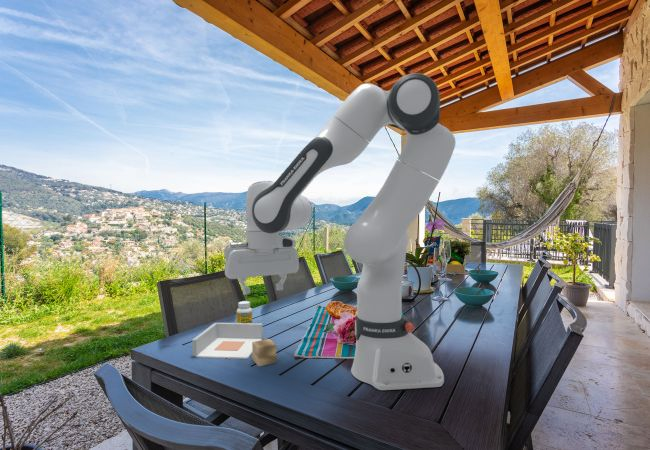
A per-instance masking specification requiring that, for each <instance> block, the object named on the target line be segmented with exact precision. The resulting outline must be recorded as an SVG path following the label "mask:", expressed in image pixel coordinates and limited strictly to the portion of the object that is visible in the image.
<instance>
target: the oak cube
mask: <svg viewBox="0 0 650 450" xmlns="http://www.w3.org/2000/svg"><path fill="white" fill-rule="evenodd" d="M251 356H252V361H253V362H254V363H255V364H256V365H257V367H262V366H265V365H270V364H275V363H277V344H276V343H275V342H274V341H273V340H271V339H270V338H266V339H262V340H261V341H256V342H252V354H251Z"/></svg>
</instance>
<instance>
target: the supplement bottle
mask: <svg viewBox="0 0 650 450" xmlns="http://www.w3.org/2000/svg"><path fill="white" fill-rule="evenodd" d="M237 303H238V304H237V306H238V307H237V309H236V323H253V309H252V307H251V302H250V301H247V300H242V301H239V302H237Z"/></svg>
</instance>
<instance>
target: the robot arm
mask: <svg viewBox="0 0 650 450" xmlns="http://www.w3.org/2000/svg"><path fill="white" fill-rule="evenodd" d="M440 94H441V93H440V90H439V88H438V85H437V84H436V82H435V80H433V79H432V78H431V77H430V76H428V75H426V74H424V73H419V72H414V73H408V74H406V75H404V76H402V77H400V78H399V79H398V80H396V81H395V83H394V84H393V85H392V86H391V88H390V90H389V91H388V90H384V89H382V88H381V87H379V86H378V85H376V84H372V83H362V84H360V85H359V86H358V87H356V88H355V89H354V90H353V91H351V93H350V94H349V95H348V96H347V97H346V99H345V100H343V102H342V103H341V104H340V105H339V106H338V108H337V109H336V111H334V113H333V115H332V116H331V118H329V120H328V122H327V123H326V124H324V125H325V126H324V127H323V128H322V129H321V130H320V131H319V132H318V134H316V135H315V136H314V138H313V139H312V140H310V142H308V144H307V145H305V147H303V148H302V149H301V151H299V153H298V154H297V156H295V158H294V159H293V160H292V161H291V162H290V164H289V165H288V166H287V167H286V168H285V170H284V171H283V172H282V173H281V174H280V175H279V177H278V178H277V179H276V180H275V181H272V180H264V181H257V182H254V183H252V184H251V185H249V186H248V188H247V191H246V197H245V217H246V220H247V224H246V229H245V238H246V239H245V241H246V242H244V241H243V242H231V243H230V244H228V245H226V246H225V248H224V251H223V252H224V253H223V254H224V258H225V259H224V260H225V264H224V265H225V266H224V275H225V276H226V278H228V279H229V280H237V279H238V282H239V284H240V286H241V287H242V294H243V295H250V294H251V287H249V286H247V285H246V282H247V279H248V278H257V277H259V278H260V277H268V276H279V278H280V279H279V281H278V283H275V290H276V291H283V290H284V283H285V282H286V280H287V278H288V277H287V276H288V274H296V273H297V272H298V271H299V269H300V263H299V262H300V261H299V253H298V250H297V249H296V248H295V247H296V246H297V242H296V239H294V238H293V239H292V238H290V237H286V236H284V235H280V232H286V231H292V230H299V229H301V228H304V227H306V226H307V225H308V224H309V223H310V221H311V219H312V217H313V216H312V215H313V206H312V204H311V202H310V200H309V199H308V198H307V197H306V196H304V195H302V193H304V191H305V190H306V189H307V187H309V185H310V184H311V183H312V182H313V180H314V179H315V178H316V177H317V176H318V175H320V174H321V173H323V172H324V171H326V170H327V171H328V170H329V169H332V168H334V167H339V166H345V165H347V164H350V163H353V161H355V160H356V159H357V158H358V157H359V156H360V155H361V154H363V152H364V151H365V149H366V148H367V147H368V146H369V145H370V143H371V141H372V140H373V139H374V138H375V136H376V135H377V134H378V133H379V131H380V130H381V129H382V128H384V127H385V126H387V125H388V126H390V127H393V128H396V129H398V130H400V131H403V132H405V134H406V140H405V144H404V146H403V149H402V150H401V152H400V154H399V155H398V157H397V160H396V161H395V163H394V164H393V167H392V168H391V170H390V172H389V173H388V176H387V178H386V180H385V181H384V183H383V185H382V186H381V188H380V190H379V191H378V192H377V194H376V195H375V197H374V198H373V199H372V200H371V202H370V203H369V204H368V206H367V207H366V208H365V209H364V211H363V212H362V213H361V215H360V216H359V217H358V218H357V220H356V221H355V222H354V223H353V224H352V225H350V227H349V228H348V229H347V230H346V232H345V234H344V239H343V241H344V242H343V245H344V250H345V252H346V254H347V256H348V257H349V258H350V259H352V260H353V261H354V262H356V263H359V264H362V270H361V274H360V277H359V280H358V282H357V288H356V304H357V305H356V308H357V309H356V311H357V312H356V313H357V314H356V315H355V320H354V335H355V340H356V343H355V353H354V358H353V362H352V365H351V369H350V372H351V374H352V376H353V377H354V378H355V379H357V380H358V381H360V382H363V383H366V384H369V385H370V386H371V387H372V386H373V387H374V388H375V389H376V390H379V391H391V390H392V391H393V390H407V389H408V390H411V389H423V388H424V389H425V388H439V387H443V384H444V383H445V376H444V372H443V370H442V369H441V367H440V366H439V365H438V364H437V363H436V362H434V357H433V353H432V352H431V350H430V348H429V347H428V346H427V344H425V343H424V342H423V341H422V340H420V339H419V337H417V336H415V335H414V334H413V332H414V331H415V326H414V324H413V323H412V322H411V321H410V319H408V318H407V317H406V316H402V314H403V313H402V310H403V309H402V305H403V304H402V303H403V302H402V300H403V299H402V297H403V296H402V295H403V294H402V293H403V292H402V289H403V279H404V273H405V272H404V271H405V266H406V264H405V263H406V259H407V258H406V256H407V249H408V243H409V233H408V229H409V228H410V226H411V225H412V223H413V222H414V220H415V219H416V218H417V217H418V216H419V214H421V212H422V211H423V210H424V208H425V207H426V205H427V203H428V201H429V200H430V198H431V197H432V195H433V193H434V191H435V189H436V188H437V187H438V184H439V183H440V181H441V179H442V177H443V176H444V174H445V171H446V170H447V168H448V165H449V163H450V161H451V160H452V159H451V158H452V156H453V154H454V153H453V152H454V151H455V148H456V143H457V142H456V137H455V135H454V134H453V132H452V131H451V130H450V129H449V128H448V127H446V126H444V125H442V124H440V123H439V122H440V120H441V96H440Z"/></svg>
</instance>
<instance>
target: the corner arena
mask: <svg viewBox="0 0 650 450" xmlns="http://www.w3.org/2000/svg"><path fill="white" fill-rule="evenodd" d="M261 340H264V324H263V323H258V322H257V323H253V322H252V323H237V322H214V323H212V324H211V325H210V326H208V327H207V328H205V330H203V331H202V332H200V333H199V334H198V335H197V336H195V337H194V338H193V339H191V346H192V347H191V348H192V351H191V352H192V354H191V355H192V356H191V357H192V358H204V359H205V358H208V359H209V358H212V359H235V360H237V359H240V360H242V359H244V360H248V359H249V358H250V356H252V342H256V341H261Z"/></svg>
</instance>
